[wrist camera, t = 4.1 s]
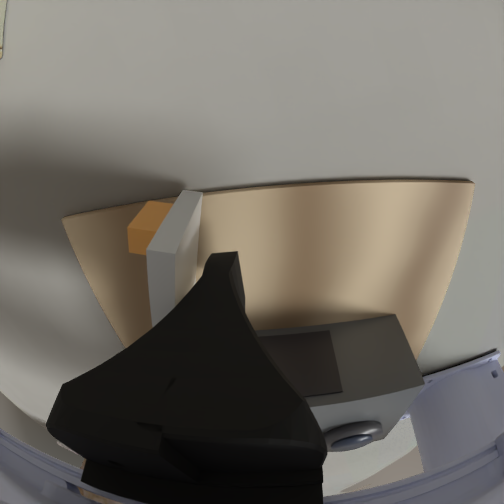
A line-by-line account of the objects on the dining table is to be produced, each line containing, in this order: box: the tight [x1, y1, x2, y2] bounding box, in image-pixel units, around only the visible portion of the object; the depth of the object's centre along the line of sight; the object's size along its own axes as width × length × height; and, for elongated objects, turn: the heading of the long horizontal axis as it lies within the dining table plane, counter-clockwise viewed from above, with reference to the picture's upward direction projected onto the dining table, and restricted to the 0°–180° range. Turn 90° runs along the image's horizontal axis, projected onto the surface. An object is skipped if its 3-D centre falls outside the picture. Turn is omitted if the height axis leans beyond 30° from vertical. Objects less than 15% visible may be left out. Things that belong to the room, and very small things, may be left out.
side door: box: [127, 190, 203, 327], centre depth 10 cm, size 7×2×4 cm, turn 170°
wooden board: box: [61, 180, 475, 360], centre depth 14 cm, size 18×16×1 cm
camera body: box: [255, 314, 425, 452], centre depth 13 cm, size 11×7×5 cm, turn 96°
